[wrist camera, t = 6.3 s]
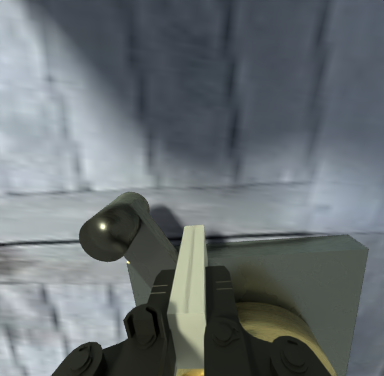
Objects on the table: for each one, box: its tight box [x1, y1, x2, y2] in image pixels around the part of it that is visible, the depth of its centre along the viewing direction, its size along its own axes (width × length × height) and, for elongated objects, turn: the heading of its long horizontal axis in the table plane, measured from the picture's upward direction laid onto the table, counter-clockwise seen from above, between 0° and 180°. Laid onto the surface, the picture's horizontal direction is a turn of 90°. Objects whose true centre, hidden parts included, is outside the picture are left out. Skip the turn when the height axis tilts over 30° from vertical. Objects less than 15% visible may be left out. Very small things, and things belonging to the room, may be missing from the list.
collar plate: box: [127, 235, 369, 376], centre depth 17 cm, size 24×21×2 cm
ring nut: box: [79, 192, 337, 376], centre depth 13 cm, size 24×12×5 cm, turn 33°
